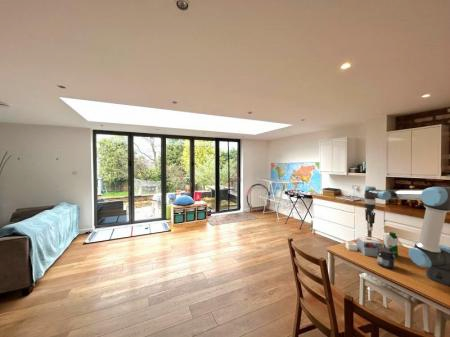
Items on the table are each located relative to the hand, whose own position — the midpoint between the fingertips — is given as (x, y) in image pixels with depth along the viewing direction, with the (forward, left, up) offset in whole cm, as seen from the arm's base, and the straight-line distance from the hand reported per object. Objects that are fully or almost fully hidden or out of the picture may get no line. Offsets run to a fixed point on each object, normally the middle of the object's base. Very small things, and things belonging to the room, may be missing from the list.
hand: (369, 229), depth 165 cm
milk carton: (-1, -15, -21) cm, 26 cm away
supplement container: (-23, -1, -21) cm, 31 cm away
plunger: (0, 0, -17) cm, 17 cm away
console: (0, 0, -20) cm, 20 cm away
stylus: (0, 0, -7) cm, 7 cm away
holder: (+4, +13, -20) cm, 24 cm away
